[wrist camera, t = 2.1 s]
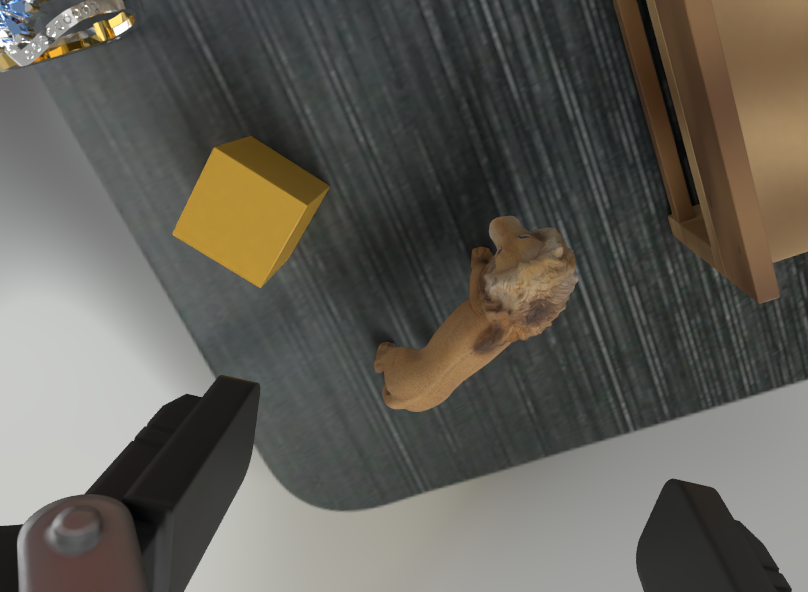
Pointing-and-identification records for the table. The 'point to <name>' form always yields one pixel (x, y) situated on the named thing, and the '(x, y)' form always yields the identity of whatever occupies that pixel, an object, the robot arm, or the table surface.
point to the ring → (60, 29)
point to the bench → (730, 127)
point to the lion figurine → (484, 315)
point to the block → (249, 208)
